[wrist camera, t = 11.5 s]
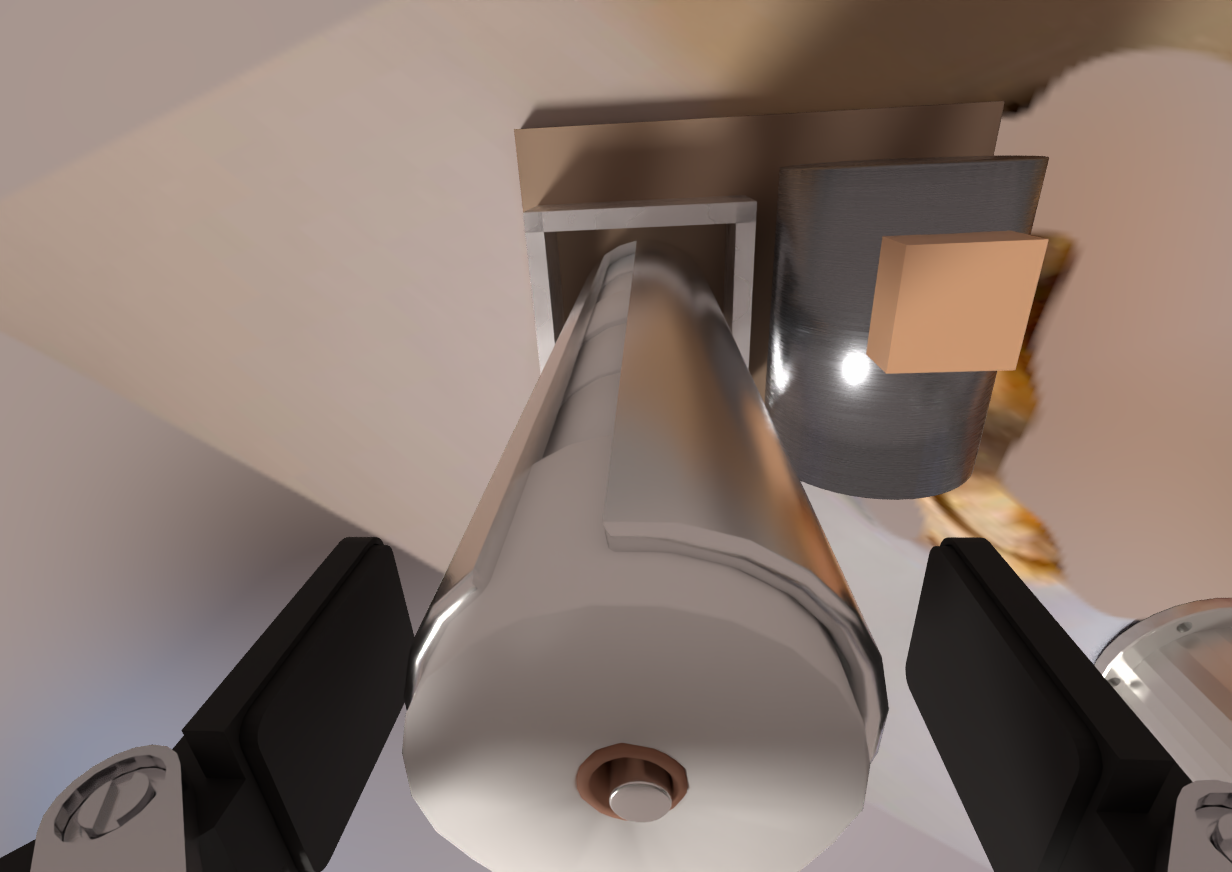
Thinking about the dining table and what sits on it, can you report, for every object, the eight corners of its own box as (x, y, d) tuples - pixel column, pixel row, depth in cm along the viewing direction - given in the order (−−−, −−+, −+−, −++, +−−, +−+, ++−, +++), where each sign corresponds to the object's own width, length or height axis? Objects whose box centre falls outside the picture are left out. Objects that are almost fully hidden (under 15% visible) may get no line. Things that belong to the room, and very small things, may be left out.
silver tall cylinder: (576, 360, 31) (384, 919, 8) (586, 231, 28) (343, 550, 6) (699, 375, 31) (837, 972, 8) (722, 247, 28) (1022, 631, 6)
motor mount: (990, 102, 26) (1233, 70, 15) (925, 431, 33) (1061, 570, 22) (519, 130, 27) (433, 118, 17) (552, 439, 34) (507, 573, 24)
